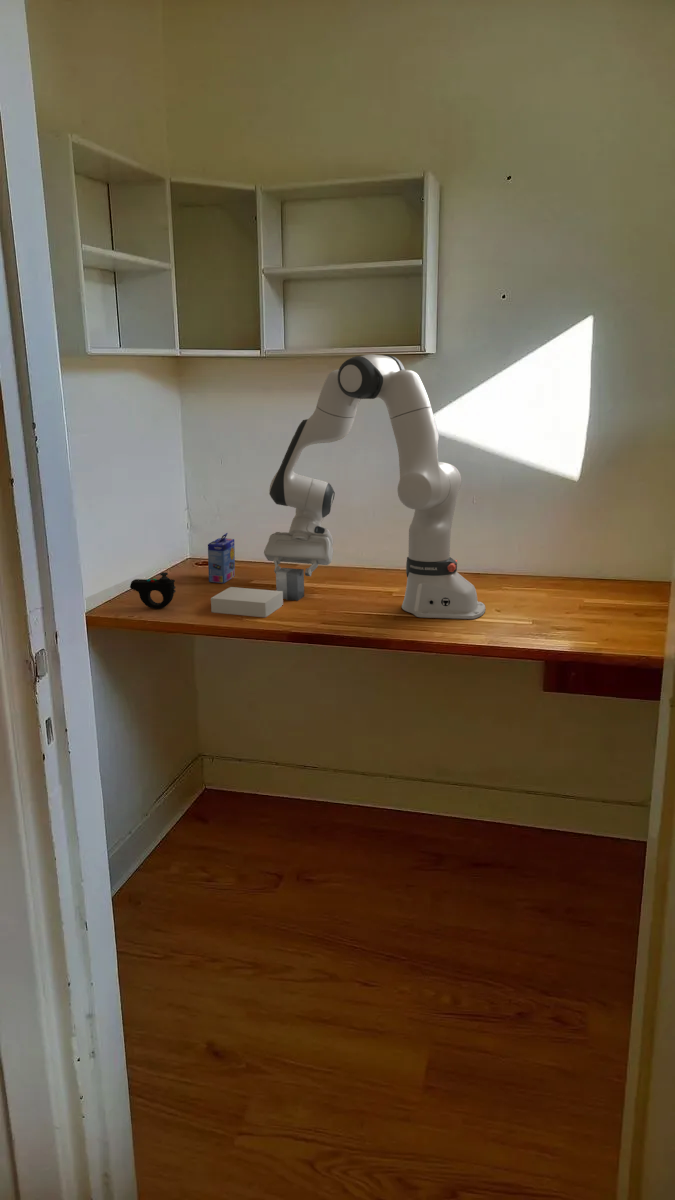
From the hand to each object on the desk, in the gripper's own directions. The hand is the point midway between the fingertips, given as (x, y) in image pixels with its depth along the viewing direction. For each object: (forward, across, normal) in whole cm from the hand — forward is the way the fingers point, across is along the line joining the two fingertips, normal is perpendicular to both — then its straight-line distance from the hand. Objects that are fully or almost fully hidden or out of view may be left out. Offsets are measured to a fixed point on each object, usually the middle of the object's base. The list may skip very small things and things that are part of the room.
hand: (292, 573), depth 242 cm
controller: (+21, -32, -12) cm, 40 cm away
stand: (+16, -7, -7) cm, 19 cm away
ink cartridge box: (-3, -28, +13) cm, 31 cm away
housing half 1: (+6, -2, +3) cm, 7 cm away
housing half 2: (+6, +2, +3) cm, 7 cm away
